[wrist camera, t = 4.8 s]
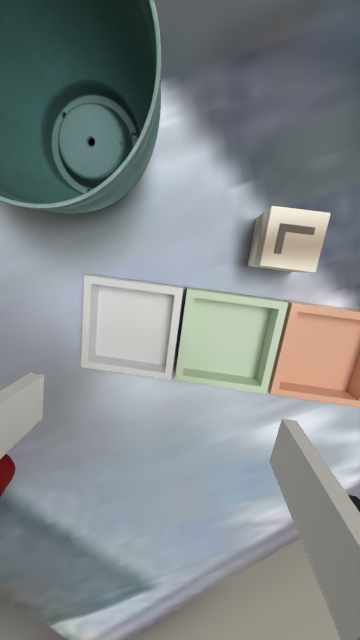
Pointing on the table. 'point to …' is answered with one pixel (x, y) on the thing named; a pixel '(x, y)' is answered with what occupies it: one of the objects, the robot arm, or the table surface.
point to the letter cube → (288, 239)
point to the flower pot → (77, 100)
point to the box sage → (229, 339)
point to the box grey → (130, 326)
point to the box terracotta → (318, 355)
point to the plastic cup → (5, 472)
